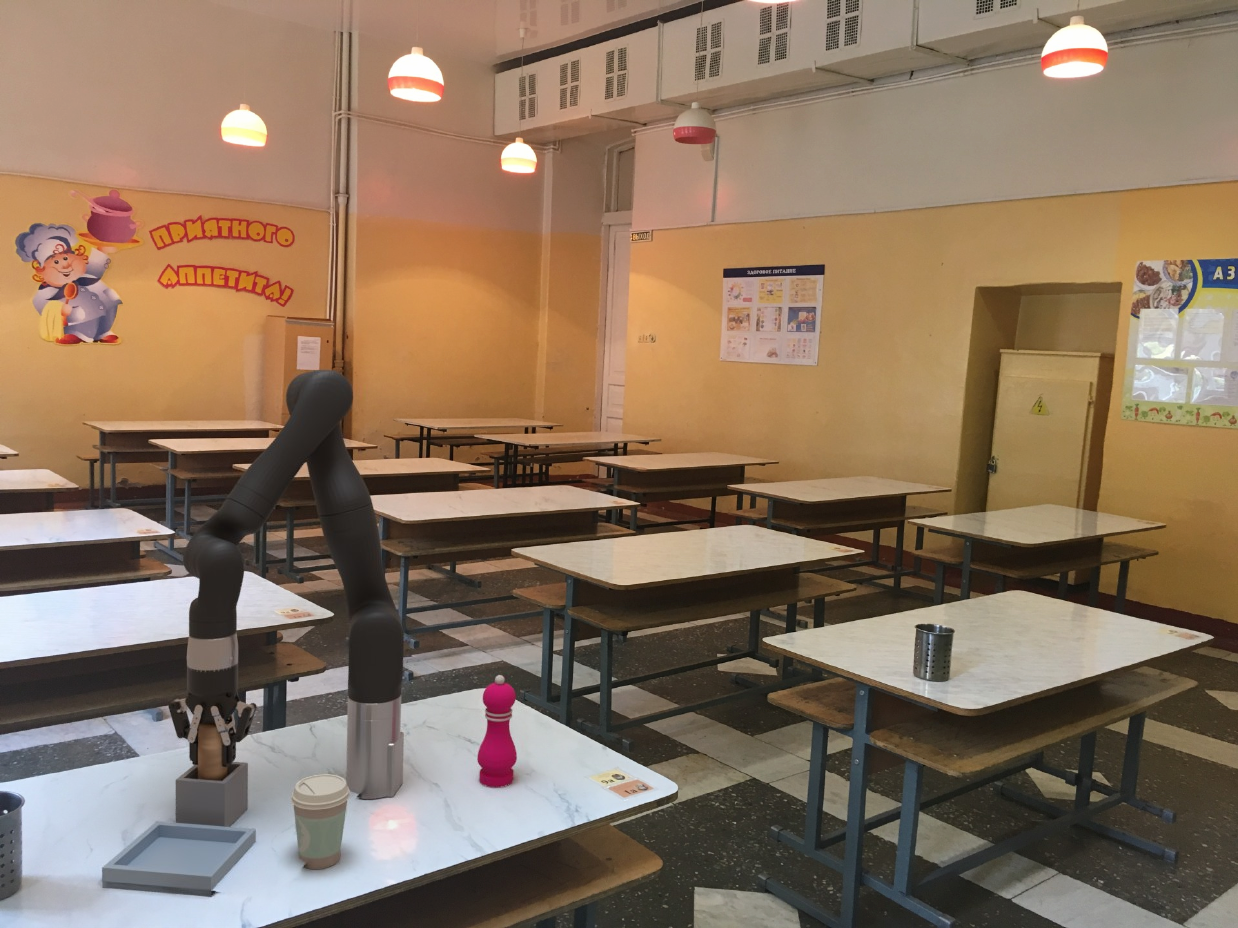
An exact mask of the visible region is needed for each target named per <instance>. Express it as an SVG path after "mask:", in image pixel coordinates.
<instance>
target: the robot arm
mask: <svg viewBox="0 0 1238 928" xmlns="http://www.w3.org/2000/svg"><path fill="white" fill-rule="evenodd" d="M353 400H354V392H353V387H352V385H351V383H350V381H349V380H348V378H347V377H346V376H344V374H341V373H340V372H338V371H335V370H332V369H331V370H330V369H318V370H317V369H316V370H311V371H306V372H302V373H300V374H298V375H296V376H295V377H294V378H293V379H292V380H291V381H290V383H289V384H288V386H287V389H286V393H285V402H286V403H285V404H286V407H287V410H288V413H289V415H290V416H289V418H288V420H287V421H286V423H285V424H284V426H283V427H282V429H281V431H279V433H278V435H277V436H276V437H275V438H274V439H273V441H271V443H270V444H269V445H268V446H267V447H266V448H265V450H264V451H262V453H261V454H259V456H258V457H257V458H255V460H254V461H253V462H252V463H251V464H250V465H249V466H248V468H246V470H244V472H243V473H242V475H241V477H240V478H239V479H238V480H237V483H235V485H234V487H233V488H232V489H231V491H230V493H229V494H228V495H227V497H226V498H225V500H224V501H223V503H222V505H221V507H220V508H219V509H217V511H216V512H214V514H212V515H211V516H210V517H209V518H208V519H207V520H206V521H205V522H204V523H203V524H202V525H201V526H200V527H199V529H198V530H197V531H196V532H195V533H194V534H193V535H192V537H191V538H190V540H189V541H188V543H187V544H186V546H185V549H184V551H183V556H182V564H183V567H184V569H185V570H186V572H187V573H188V574H190V575H191V576H192V577H195V578H197V579H198V581H199V584H198V585H199V587H198V593H197V597H196V598H194V599H193V600H192V601H191V603H190V606H189V609H188V611H189V612H188V642H187V649H186V690H187V695H186V697H185V698H182V697H178V698H176V699H174V700H173V701H171V702H170V703H169V704H168V710H169V713H170V717H171V720H172V724H173V727H174V731H175V734H176V737H177V738H178V739H186V740H187V741H188V744H189V746H188V750H189V755H188V757H189V758H188V759H189V761H191V763H192V764H191V765H192V766H194V765H198V726H199V725H200V724H207V723H211V724H214V725H216V726H217V730H218V732H219V733H220V734H221V737H222V740H223V743H224V745H222V766H223V767H228V766H229V765H230V764H232V762H235V760H236V758H237V757H236V756H237V743H240V742H242V740H244V739H245V738H246V737H247V736H249V732H250V729H251V726H252V723H253V720H254V717H255V713H256V710H257V706H258V705H257V704H256V703H254V702H251V703H250V704H248V703H246V702H243V701H241V698H240V697H239V694H238V688H239V643H238V642H239V641H238V636H237V635H238V634H237V633H238V630H237V627H238V625H237V624H238V623H237V622H238V616H237V614H238V613H237V611H238V610H237V606H238V602H239V598H240V595H241V590H242V586H243V581H244V577H245V560H244V556H243V553H242V551H241V550H240V548H239V547H238V546H239V544H240V543H241V541H242V540H243V539H244V538H245V537H247V536H249V535H253V534H257V532H259V531H260V530H261V528H263V526H264V524H265V523H266V521H267V520H268V519H269V517H270V515H271V514H272V513H273V511H274V509H275V508H276V506H277V505H278V503H279V501H280V499H281V498H282V496H283V495H284V493H285V492H286V491H287V489H288V488H289V486H290V484H291V483H292V481H293V480H294V479H295V477H296V476H297V474H298V473H299V472H300V470H301V468H302V467H303V466H304V464H306V466H307V472H308V477H309V480H310V481H309V482H310V485H311V489H312V493H313V497H314V501H315V506H316V511H317V515H318V519H319V523H320V527H321V530H322V534H323V537H324V541H325V543H326V547H327V549H328V551H329V554H330V558H331V559H332V562H333V563H334V565H335V568H336V570H337V572H338V574H339V577H340V579H341V582H342V586H343V591H344V596H345V600H346V601H345V602H346V608H347V614H348V615H347V616H348V662H347V663H348V665H347V666H348V668H347V669H348V673H347V714H346V716H347V718H346V719H347V720H346V721H347V723H346V724H347V726H346V732H347V733H346V771H345V773H346V776H345V780H346V783H347V786H348V788H349V792H352V793H355V794H357V796H356V798H358V799H363V800H364V799H365V800H369V799H370V800H374V799H381V798H385V797H389V798H390V797H391V798H392V797H394V796H395V794H396V793H397V792H398V790H399V789H400V787H401V786H402V784H403V783H404V779H403V778H404V751H405V750H404V746H405V745H404V743H405V738H404V737H405V733H404V732H403V731H401V727H402V726H401V724H402V723H401V722H402V720H401V719H402V690H403V689H402V688H403V687H402V686H403V681H404V680H403V677H404V651H405V650H404V649H405V636H404V635H405V634H404V633H405V632H404V628H403V622H402V619H401V616H400V614H399V611H398V610H397V608H396V605H395V602H394V599H393V597H392V594H391V592H390V589H389V588H390V587H389V586H388V583H387V580H386V575H385V572H384V567H383V558H382V548H381V547H382V546H381V539H380V533H379V525H378V522H377V518H376V517H377V516H376V513H375V509H374V504H373V502H372V501H373V500H372V497H371V494H370V490H369V489H368V486H367V484H366V482H365V481H364V480H365V479H364V478H363V477H362V475H361V473H360V471H359V469H358V468H357V466H356V464H355V463H354V461H353V460H352V457H351V456H350V454H349V452H348V450H347V447H346V443H345V440H344V435H343V431H342V426H341V421H342V420H343V419H344V418H345V417H346V416H347V414H348V413H349V411H350V410H351V408H352V405H353V403H354V401H353ZM187 710H189V711H190V712H191V714H192V715H193V716H192V719H191V720H190V719H189V715H188V712H187ZM236 710H237V711H238V713H237V715H238V717H239V720H238V724H237V727H235V725H236V721H235V717H234V713H235V711H236ZM190 721H191V722H190ZM225 722H228V723H227V724H225Z"/></svg>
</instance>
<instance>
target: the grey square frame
mask: <svg viewBox="0 0 1238 928" xmlns="http://www.w3.org/2000/svg"><path fill="white" fill-rule="evenodd" d="M248 783H249V763H248V762H243V761H242V762H241V761H240V762H239V761H233V762H232V764H230V765H229V766H228V767H227V777H226V778H225V779H224V780H223V781H214V780H201V779H198V765H192V766H191V767H189V768H188V769H187V770H186V771H185V772H183V774H181V775H180V776H179V777H177V778H176V779H175V823H185V824H198V825H211V826H223V827H232V826H233V824H235V823H236V822H237V821H238V819H240V818H241V817H242V816H243V814H245V813H246V812H247V810H248V809H249V808H248V807H249V805H248V804H249V803H248V801H249V799H248V796H249V795H248V794H249V793H248V792H249V789H248V788H249V787H248V786H249V784H248Z"/></svg>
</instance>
